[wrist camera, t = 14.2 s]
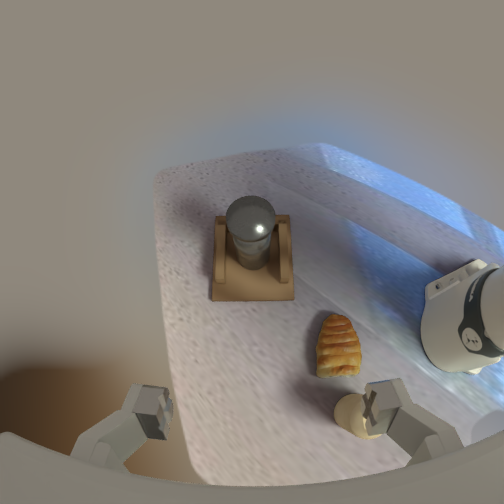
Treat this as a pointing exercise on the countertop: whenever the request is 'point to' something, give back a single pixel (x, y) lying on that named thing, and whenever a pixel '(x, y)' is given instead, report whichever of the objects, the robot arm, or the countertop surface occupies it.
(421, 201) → the countertop surface
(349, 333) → the pastry
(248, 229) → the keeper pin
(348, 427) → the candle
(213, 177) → the countertop surface
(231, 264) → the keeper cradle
